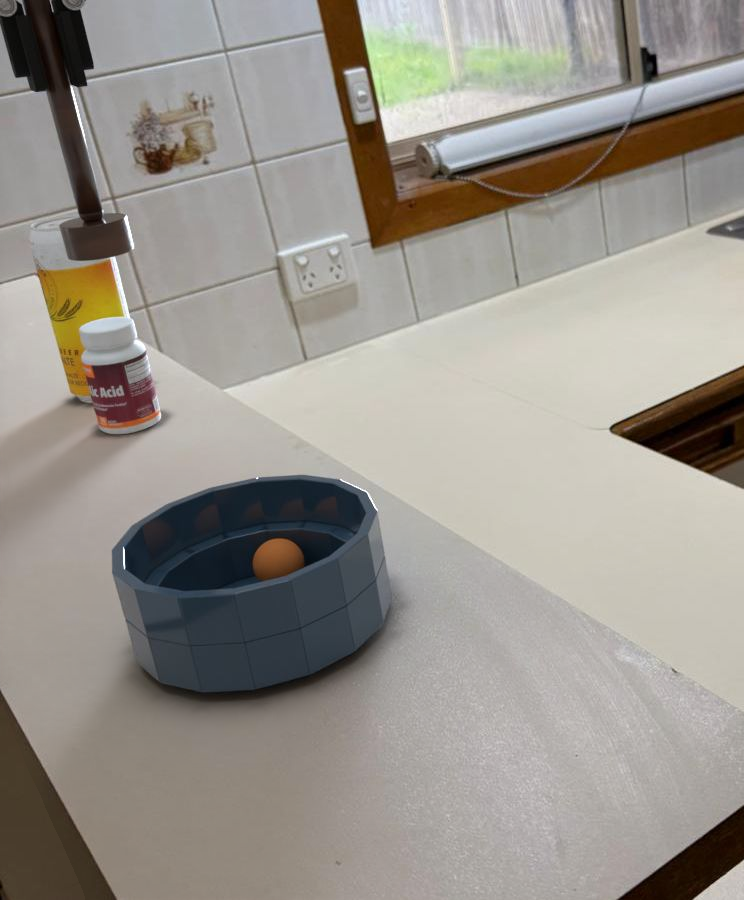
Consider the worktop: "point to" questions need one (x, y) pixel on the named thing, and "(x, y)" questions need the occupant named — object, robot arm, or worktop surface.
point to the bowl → (252, 583)
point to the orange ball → (277, 559)
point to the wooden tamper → (75, 153)
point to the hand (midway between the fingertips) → (58, 85)
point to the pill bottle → (118, 376)
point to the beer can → (74, 295)
